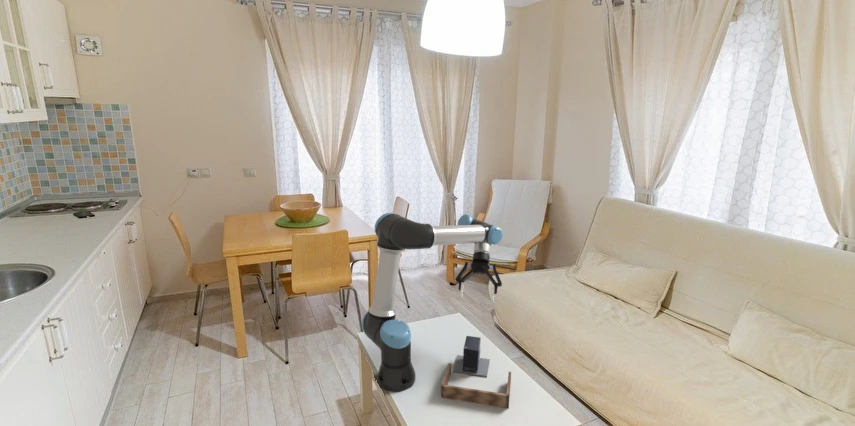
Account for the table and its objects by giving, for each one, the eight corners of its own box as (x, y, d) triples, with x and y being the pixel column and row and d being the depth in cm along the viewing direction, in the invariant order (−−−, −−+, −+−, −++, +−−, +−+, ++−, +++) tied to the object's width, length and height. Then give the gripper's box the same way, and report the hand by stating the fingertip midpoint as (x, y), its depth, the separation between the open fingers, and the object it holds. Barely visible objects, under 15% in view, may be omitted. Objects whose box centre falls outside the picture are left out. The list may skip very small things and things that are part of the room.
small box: (478, 373, 176) (479, 350, 173) (462, 371, 177) (462, 348, 174) (480, 358, 186) (481, 336, 183) (465, 357, 187) (465, 335, 184)
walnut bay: (440, 397, 162) (441, 385, 161) (448, 373, 176) (448, 363, 175) (508, 408, 156) (509, 396, 155) (510, 382, 171) (511, 371, 169)
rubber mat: (452, 372, 177) (452, 371, 177) (457, 356, 189) (457, 355, 188) (486, 377, 174) (486, 375, 174) (489, 360, 185) (489, 359, 185)
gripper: (509, 260, 196) (506, 305, 185) (455, 255, 202) (449, 299, 191) (509, 253, 190) (505, 299, 179) (453, 248, 195) (446, 293, 185)
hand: (476, 299), depth 185 cm, fingers open, 13 cm apart
